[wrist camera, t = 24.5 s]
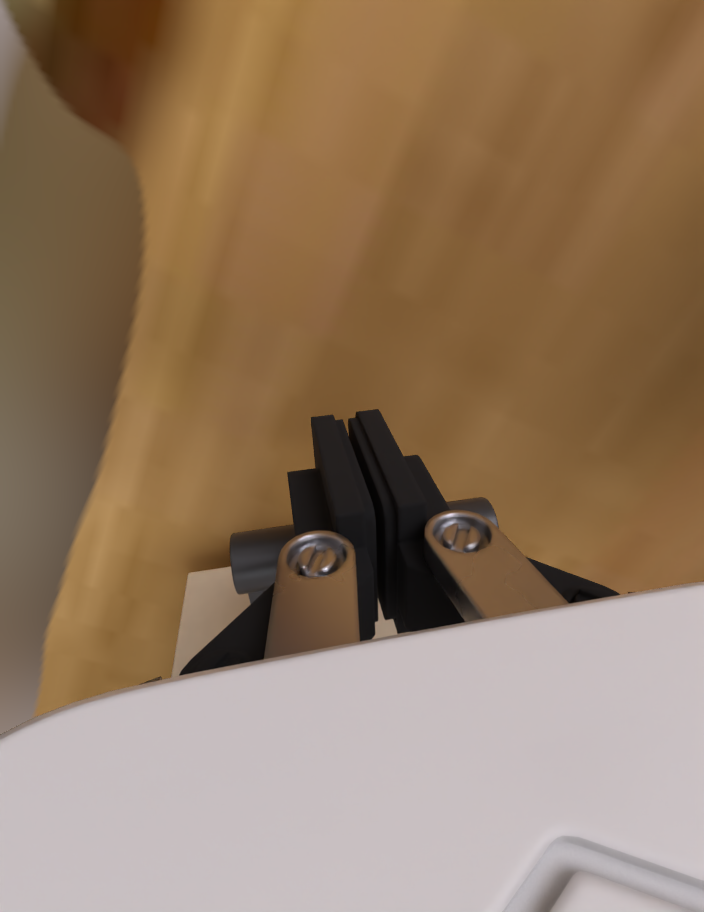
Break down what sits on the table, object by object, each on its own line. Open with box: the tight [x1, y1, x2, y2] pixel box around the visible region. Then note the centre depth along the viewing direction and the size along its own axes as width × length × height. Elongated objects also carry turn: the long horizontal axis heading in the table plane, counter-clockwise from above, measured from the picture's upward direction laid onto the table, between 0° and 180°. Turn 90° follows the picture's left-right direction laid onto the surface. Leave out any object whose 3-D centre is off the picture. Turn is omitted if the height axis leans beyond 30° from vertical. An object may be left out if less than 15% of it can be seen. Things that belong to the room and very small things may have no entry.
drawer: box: [171, 497, 499, 678], centre depth 19 cm, size 20×13×7 cm, turn 3°
